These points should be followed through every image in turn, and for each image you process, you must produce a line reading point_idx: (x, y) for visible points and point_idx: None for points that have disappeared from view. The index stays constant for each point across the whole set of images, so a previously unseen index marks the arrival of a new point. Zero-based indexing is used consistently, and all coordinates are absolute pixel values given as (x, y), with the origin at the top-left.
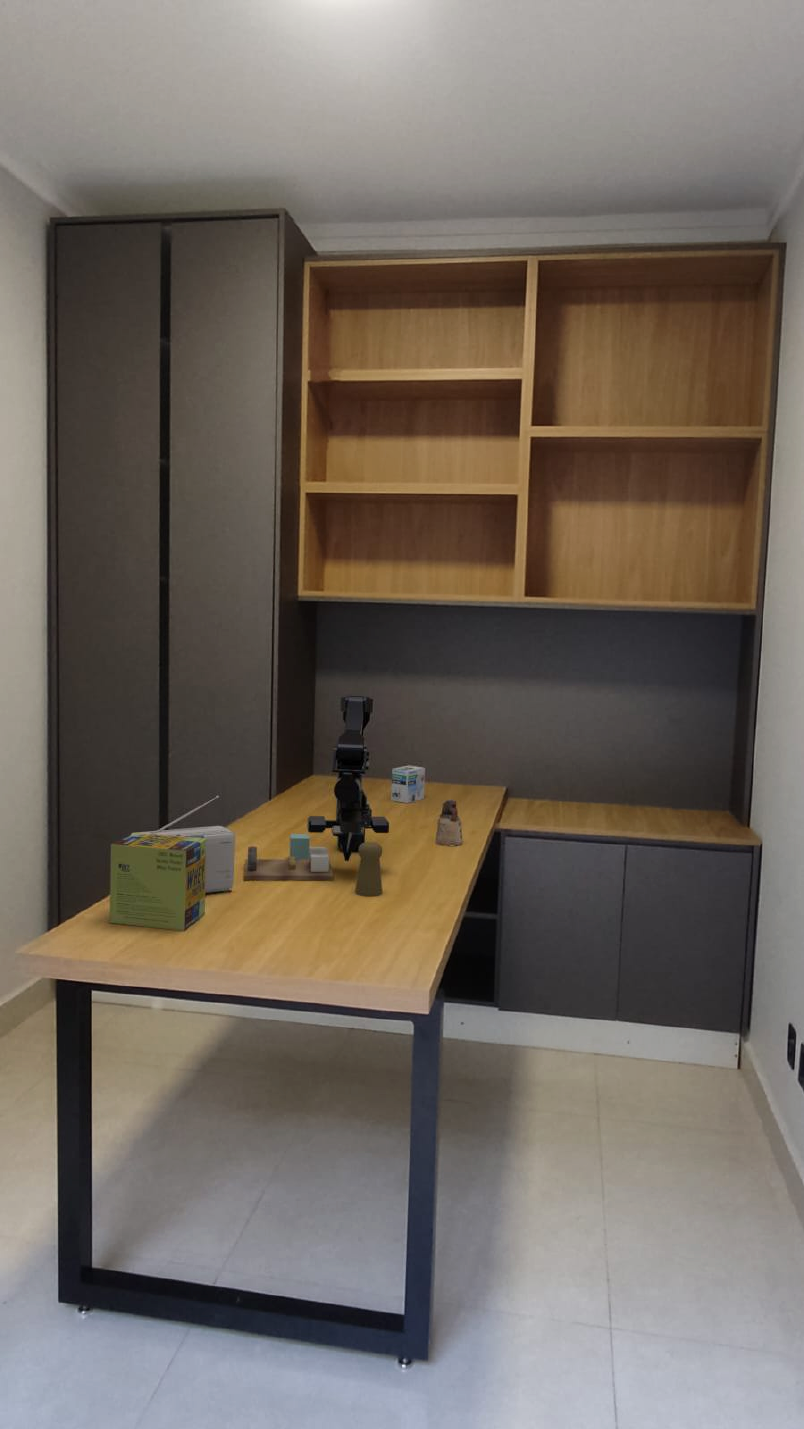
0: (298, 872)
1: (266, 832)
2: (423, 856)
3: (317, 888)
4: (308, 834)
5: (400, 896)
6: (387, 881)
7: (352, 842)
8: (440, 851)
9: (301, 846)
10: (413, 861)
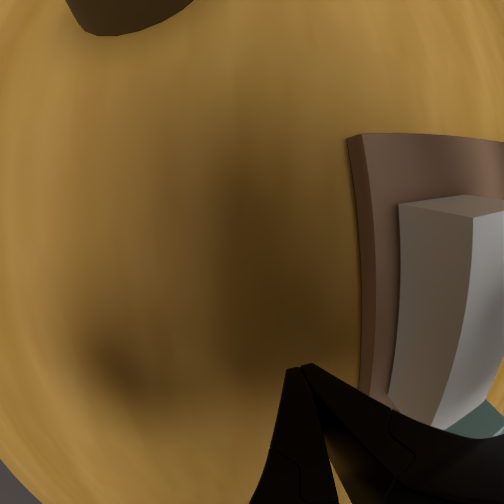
0: (491, 191)
1: None
2: (69, 483)
3: (389, 24)
4: None
5: (29, 7)
6: (36, 195)
7: (298, 496)
8: (61, 496)
9: (467, 426)
10: (65, 461)
